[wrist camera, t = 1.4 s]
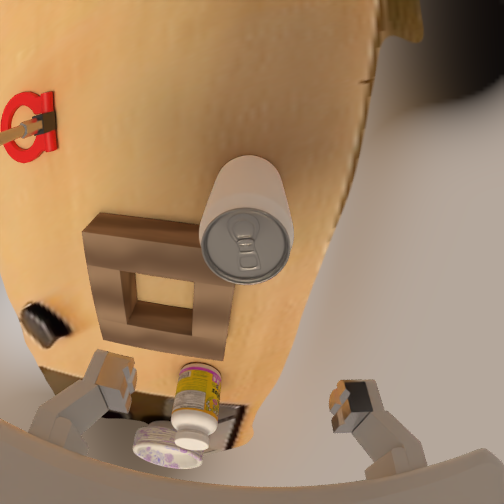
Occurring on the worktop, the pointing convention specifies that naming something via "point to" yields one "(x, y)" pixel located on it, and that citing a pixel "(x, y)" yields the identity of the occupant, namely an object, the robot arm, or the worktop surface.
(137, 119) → the worktop surface
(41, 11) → the worktop surface
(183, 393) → the supplement bottle
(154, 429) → the paper bowls
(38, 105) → the tow hook
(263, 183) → the can
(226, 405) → the worktop surface
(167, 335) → the holder
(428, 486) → the robot arm
